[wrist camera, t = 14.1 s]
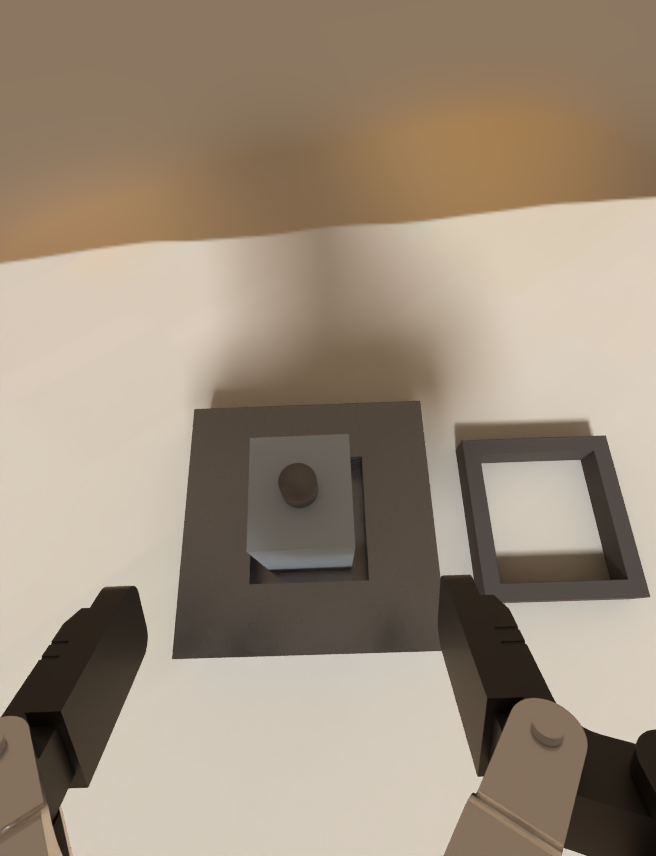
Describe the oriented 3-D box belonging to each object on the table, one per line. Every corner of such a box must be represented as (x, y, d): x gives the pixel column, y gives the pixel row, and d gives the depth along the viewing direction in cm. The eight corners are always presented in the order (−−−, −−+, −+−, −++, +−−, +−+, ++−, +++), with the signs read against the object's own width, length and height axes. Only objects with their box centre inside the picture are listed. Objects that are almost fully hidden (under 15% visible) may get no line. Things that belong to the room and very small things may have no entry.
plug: (271, 572, 24) (239, 546, 16) (272, 486, 26) (244, 426, 18) (351, 569, 24) (356, 541, 16) (346, 483, 26) (349, 421, 18)
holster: (477, 603, 24) (486, 602, 22) (455, 450, 27) (462, 440, 25) (632, 598, 23) (650, 596, 22) (591, 445, 27) (605, 435, 25)
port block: (189, 656, 23) (172, 658, 21) (206, 427, 28) (194, 409, 25) (437, 648, 23) (448, 650, 21) (413, 420, 28) (419, 401, 25)
